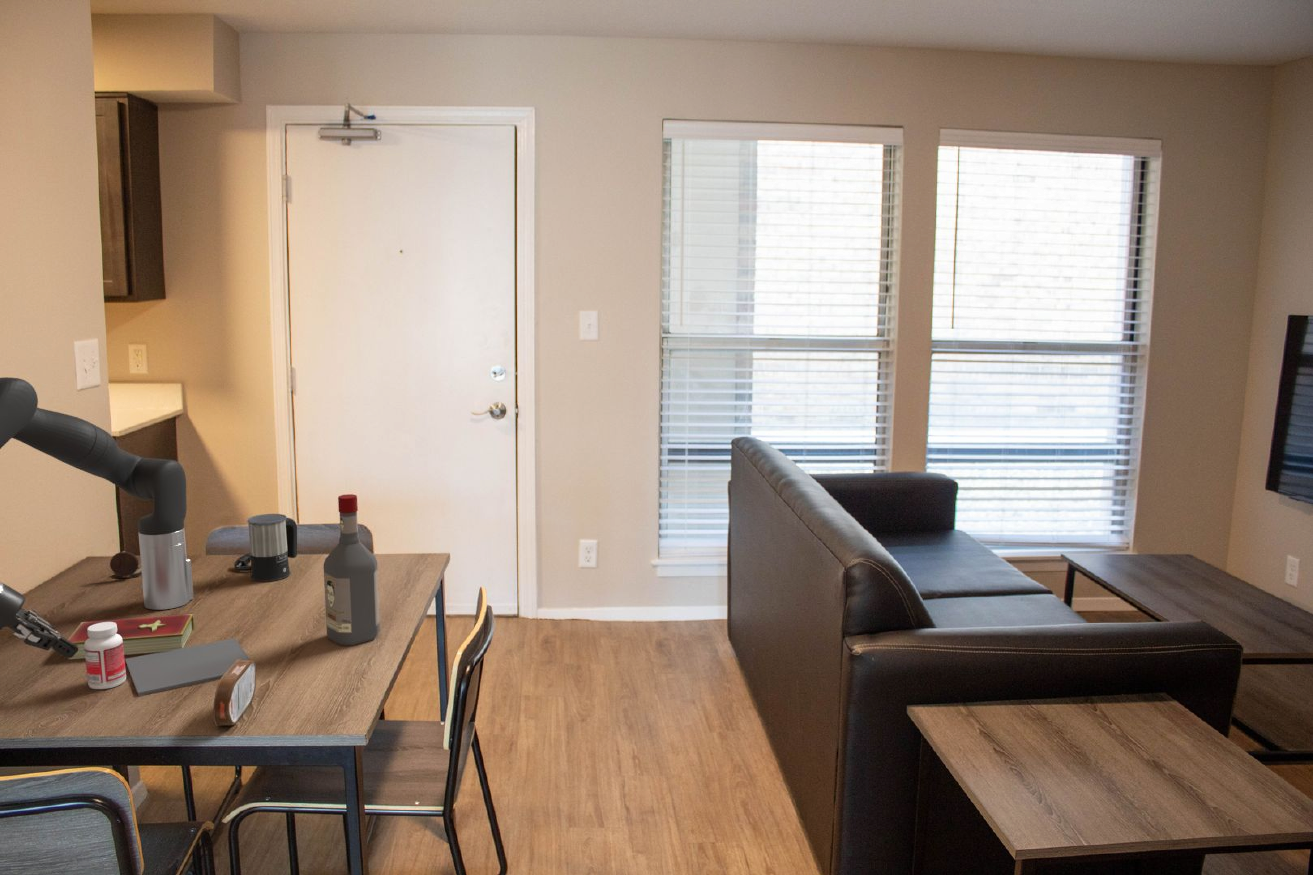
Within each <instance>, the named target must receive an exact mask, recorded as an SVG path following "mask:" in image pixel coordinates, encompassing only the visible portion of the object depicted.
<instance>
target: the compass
mask: <svg viewBox="0 0 1313 875" xmlns="http://www.w3.org/2000/svg"><path fill="white" fill-rule="evenodd" d="M139 565H140V563H139V559H138V556H136V555H135V554H133V552H129V551H125V550H123V551H119V552H118V553H115V554H114V555H113V556H112V558H111V560H110V562H109V567H110V570H111V571H109V572H107V574H111V575H114V576H115V577H116V578H117V579H132V578H136V577H139V576H142V570H141V567H139Z"/></svg>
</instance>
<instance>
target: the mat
mask: <svg viewBox="0 0 1313 875" xmlns="http://www.w3.org/2000/svg"><path fill="white" fill-rule="evenodd" d="M124 659H125V665H126V664H127V665H126V667H127V669H128V673H129V672H130V673H129V675H130V677H131V680H132V682H133V685H134V688H135V691H136V693H138V694H137V696H138V697H140V696H145V695H144V694H146V695H149V693H150V694H153V693H158V692H164V691H168V690H174V689H178V688H182V687H188V686H193V685H197V684H202V683H207V682H211V681H215V680H216V681H217V680H220V679H221V678H222V676H223V675H224V674H225V673H226V672H227V671H228V670H229V668H230V667H231V666H232V665H233V664H234V663H235V661H236V660H238V659H241V660H251V659H250V657H249V655H248V654H247V653H246V652H245V650H244V649H243V648H242V646H241V644H240V643H239V641H238V640H237V638H236V637H233V638H228V639H222V640H218V641H213V642H207V643H201V644H196V645H192V646H186V647H185V646H184V647H183V648H180V649H175V650H170V651H164V652H153V653H148V654H145V655H140V656H139V655H138V656H134V657H129V658H128V657H127V658H124Z"/></svg>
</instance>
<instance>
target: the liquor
mask: <svg viewBox="0 0 1313 875" xmlns="http://www.w3.org/2000/svg"><path fill="white" fill-rule="evenodd" d="M337 501H338V502H337V504H338V513H339V533H340V535H339V536H340V537H339V539H338V543H337V545H336V546H335V547H334V549H332V551H331V552H330V553H329V554H328V555H327V557H325V558H324V563H323V580H324V603H325V604H324V605H325V622H326V623H325V625H326V635H327V638H329V640H331V641H333V642H335V643H336V644H338V645H339V646H351V647H352V646H357V645H359V644H364V643H367V642H370V641H371V642H372V641H373V640H374V641H375V639H376V638H377V636H378V635H379V633H380V632H381V627H380V625H381V622H380V602H379V600H380V599H379V597H380V595H379V576H378V575H379V573H378V561H377V558H376V555H374V554H373V553H372V551H370V549H368V548H367V547H366V546H365V545H364V544H363V543H362V542H361V538H360V537H359V536H360V535H359V527H358V526H359V525H358V511H359V509H358V508H359V507H358V496H357V495H356V494H353V493H351V494H341V495H339V496H338V497H337Z"/></svg>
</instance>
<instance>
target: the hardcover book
mask: <svg viewBox="0 0 1313 875" xmlns="http://www.w3.org/2000/svg"><path fill="white" fill-rule="evenodd" d="M194 618H195V617H194V614H193V613H190V614H189V613H188V614H174V615H162V616H150V617H149V616H148V617H146V616H145V617H135V618H121V619H107V620H106V619H105V620H96V621H83V622H82V621H81V622H80V623H79V624H78V626H77V627H76V628H75V629H74V630H73V632H72V633H71V634H70V636H69V637H68V638H66V639H67V640H69V641H71V642H72V643H74V644H76V645H77V646H78V651H77V652H76V654H75V655H74V656H73V657H72V658H68V657H67V658H68V661H69V659H70V660H78V659H79V660H81V659H82V660H83V659H85V650H84V644H85V642H86V640H87V639H89V638H90V637H88V630H87V629H88V627H89V626H91V625H94V624H97V623H102V622H114V623H116V624H117V632H116V634H118V635H120V636H121V637H122V640H123V649H124V656H125V655H127V656H128V655H141V654H154V653H159V652H164V651H170V650H175V649H180V648H185V644H186V642H187V641H188V639H189V637H190V635H191V633H192V631H195V619H194Z"/></svg>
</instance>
